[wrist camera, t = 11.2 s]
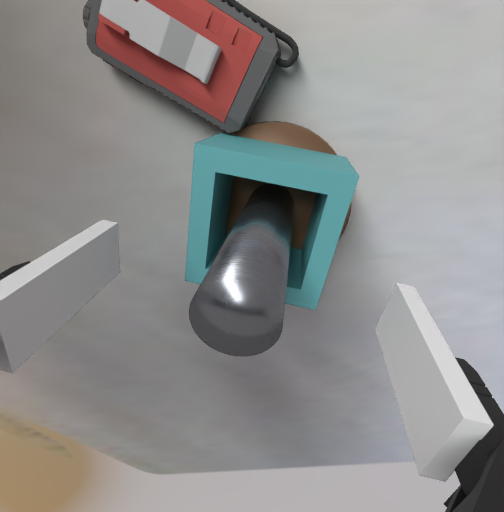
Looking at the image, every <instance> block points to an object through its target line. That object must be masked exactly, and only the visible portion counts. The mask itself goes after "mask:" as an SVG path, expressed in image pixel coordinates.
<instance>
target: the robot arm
mask: <svg viewBox="0 0 504 512" xmlns="http://www.w3.org/2000/svg"><path fill="white" fill-rule="evenodd" d="M119 273H120V259H119V239H118V223H116V222H111V221H107V220H101V221H99V222H97V223H96V224H94V225H92V226H91V227H89V228H87V229H86V230H84V231H82V232H81V233H79V234H77V235H76V236H74V237H72V238H71V239H69V240H67V241H66V242H64V243H62V244H61V245H59V246H57V247H56V248H54V249H52V250H51V251H49V252H47V253H46V254H44V255H42V256H41V257H39V258H37V259H36V260H34V261H32V262H29V261H28V262H25V263H22V264H19V265H16V266H13V267H11V268H9V269H8V270H6V271H4V272H2V273H1V274H0V370H3V371H7V372H11V373H13V372H14V371H15V370H16V369H18V368H19V367H20V366H21V365H22V364H23V363H24V362H25V361H26V360H27V359H28V358H29V357H30V356H31V355H32V354H34V353H35V352H36V351H37V350H38V349H39V348H40V347H41V346H42V345H43V344H44V343H45V342H46V341H47V340H48V339H49V338H51V337H52V336H53V335H54V334H55V333H56V332H57V331H58V330H59V329H60V328H61V327H62V326H63V325H64V324H65V323H67V322H68V321H69V320H70V319H71V318H72V317H73V316H74V315H75V314H76V313H77V312H78V311H79V310H80V309H81V308H82V307H84V306H85V305H86V304H87V303H88V302H89V301H90V300H91V299H92V298H93V297H94V296H95V295H96V294H97V293H98V292H99V291H101V290H102V289H103V288H104V287H105V286H106V285H107V284H108V283H109V282H110V281H111V280H112V279H113V278H114V277H115V276H117V275H118V274H119ZM375 330H376V334H377V337H378V340H379V344H380V347H381V350H382V353H383V357H384V360H385V363H386V367H387V370H388V373H389V377H390V380H391V383H392V386H393V390H394V393H395V396H396V400H397V403H398V406H399V410H400V413H401V416H402V419H403V423H404V426H405V429H406V433H407V436H408V439H409V443H410V446H411V449H412V452H413V456H414V459H415V462H416V466H417V469H418V472H419V475H420V476H424V477H428V478H432V479H436V480H440V481H446V480H447V479H448V478H449V477H450V476H451V475H452V473H453V472H454V471H456V474H457V476H458V479H459V481H460V484H461V485H460V486H459V487H458V489H457V490H456V491H455V492H454V493H453V494H452V495H451V496H450V497H449V498H448V500H447V501H446V502H445V503H444V505H445V506H446V507H447V509H446V511H445V512H504V414H503V412H502V411H501V409H500V408H499V406H498V404H497V403H496V401H495V400H494V398H492V395H491V393H490V392H489V390H488V388H487V387H485V384H484V382H483V380H482V379H481V377H480V376H479V374H478V373H477V371H476V370H475V369H474V368H473V367H472V366H471V365H469V364H468V363H467V362H466V361H465V360H464V359H460V358H456V357H454V355H453V354H452V352H451V350H450V348H449V347H448V345H447V343H446V341H445V340H444V338H443V336H442V334H441V333H440V331H439V329H438V328H437V326H436V324H435V322H434V321H433V319H432V317H431V315H430V314H429V312H428V310H427V309H426V307H425V305H424V303H423V302H422V300H421V298H420V296H419V295H418V293H417V291H416V289H415V288H414V287H413V286H409V285H404V284H400V283H396V285H395V287H394V290H393V292H392V294H391V296H390V298H389V301H388V303H387V305H386V307H385V309H384V311H383V314H382V316H381V318H380V320H379V322H378V325H377V327H376V329H375Z"/></svg>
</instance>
